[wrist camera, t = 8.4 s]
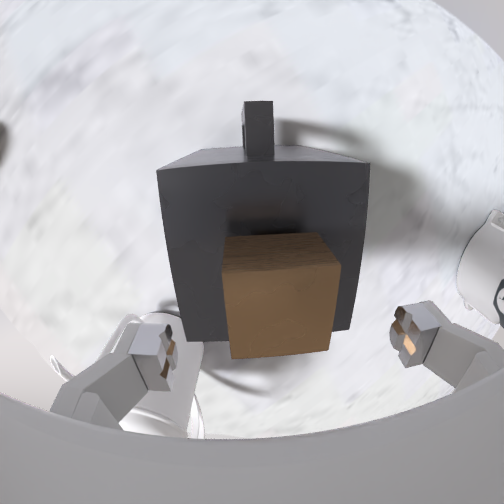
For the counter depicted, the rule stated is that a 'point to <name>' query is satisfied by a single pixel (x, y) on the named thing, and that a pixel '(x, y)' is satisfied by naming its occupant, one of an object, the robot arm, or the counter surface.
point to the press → (257, 214)
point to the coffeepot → (162, 402)
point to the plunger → (279, 294)
